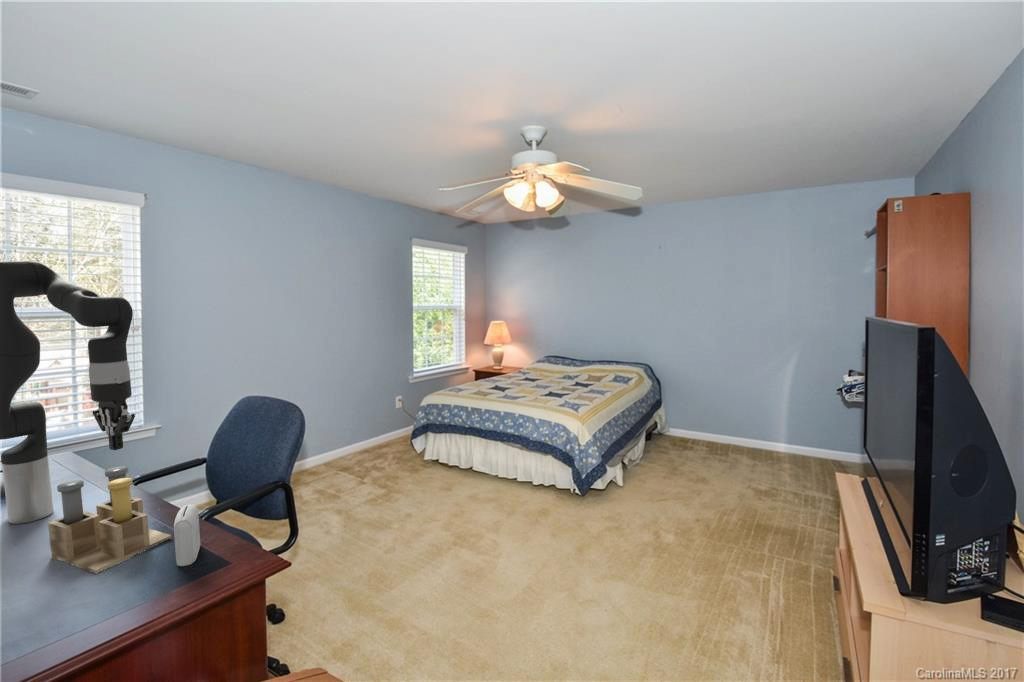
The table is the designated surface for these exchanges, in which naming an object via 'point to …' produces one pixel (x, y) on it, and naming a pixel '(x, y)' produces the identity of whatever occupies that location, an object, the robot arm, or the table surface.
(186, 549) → the photo printer
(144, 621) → the table surface
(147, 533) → the board
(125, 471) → the grey plug
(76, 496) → the grey plug
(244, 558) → the table surface
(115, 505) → the ochre plug
